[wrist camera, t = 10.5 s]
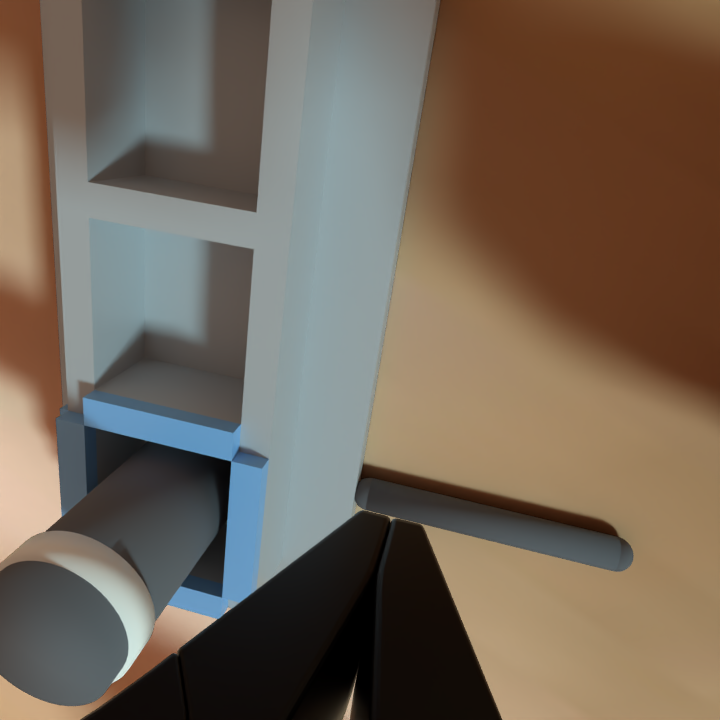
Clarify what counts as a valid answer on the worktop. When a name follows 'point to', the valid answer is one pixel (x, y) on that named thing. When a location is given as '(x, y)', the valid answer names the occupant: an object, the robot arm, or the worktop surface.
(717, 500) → the worktop surface
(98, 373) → the narrow cubby shelf
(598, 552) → the rod
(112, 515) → the dark grey cylinder
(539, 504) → the worktop surface
